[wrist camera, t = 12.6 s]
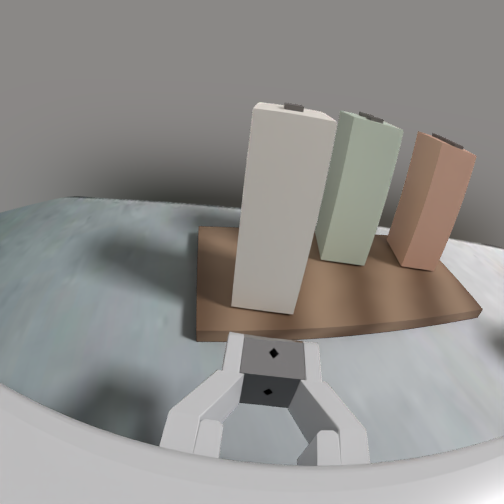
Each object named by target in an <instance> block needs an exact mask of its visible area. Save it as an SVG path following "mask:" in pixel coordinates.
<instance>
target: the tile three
mask: <svg viewBox="0 0 504 504" xmlns="http://www.w3.org/2000/svg"><path fill="white" fill-rule="evenodd" d="M475 160H476V155H474V154H472V153H470V152H468V151H466V150H464V149H463V146H461V145H458V144H456V143H455V142H452V141H450V140H448V139H446V138H444V137H442V136H439V135H436V134H432V136H431V135H428V134H425V133H422V132H419V131H418V134H417V138H416V142H415V146H414V150H413V154H412V158H411V162H410V166H409V170H408V173H407V177H406V180H405V184H404V187H403V190H402V194H401V197H400V200H399V204H398V207H397V210H396V213H395V216H394V219H393V222H392V226H391V228H390V231H389V234H388V237H387V242H388V243H389V245H390V247H391V249H392V250H393V252H394V254H395V256H396V258H397V259H398V261H399V263H400V265H401V266H403V267H410V268H417V269H423V270H430V271H434V270H435V268H436V266H437V264H438V262H439V259H440V257H441V255H442V253H443V250H444V248H445V246H446V243H447V241H448V238H449V236H450V233H451V231H452V228H453V226H454V223H455V220H456V218H457V215H458V212H459V210H460V207H461V204H462V201H463V198H464V195H465V193H466V190H467V187H468V183H469V180H470V177H471V174H472V170H473V167H474V163H475Z"/></svg>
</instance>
